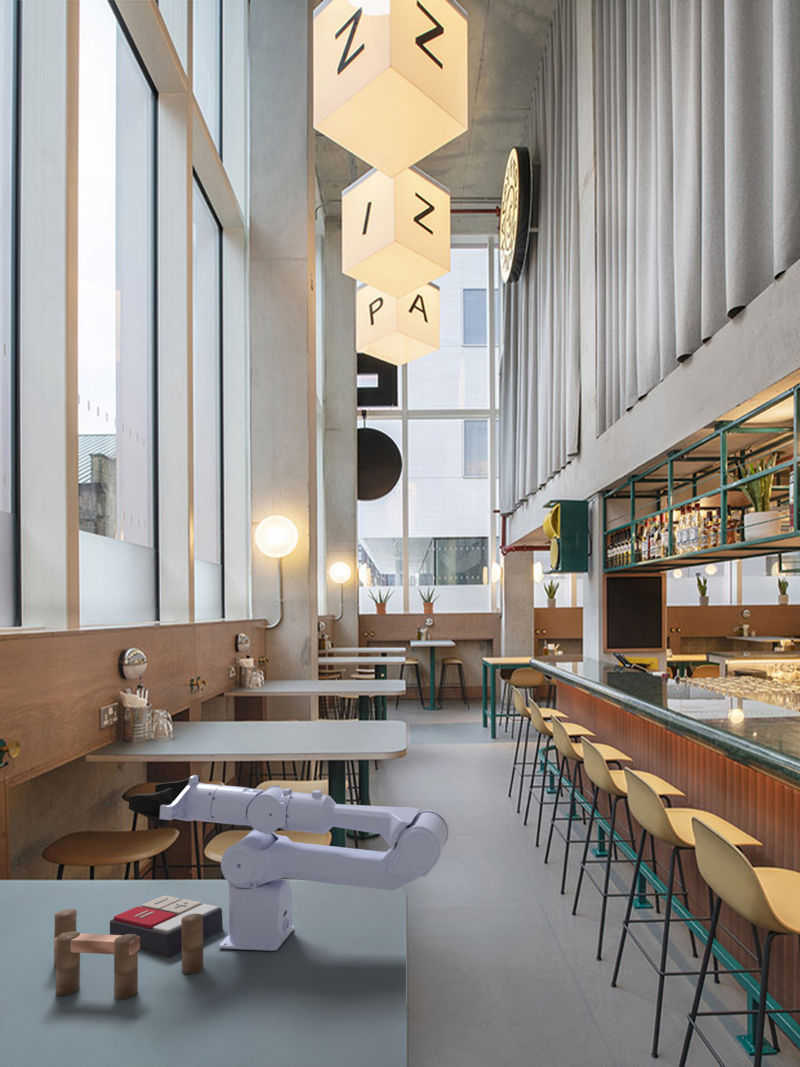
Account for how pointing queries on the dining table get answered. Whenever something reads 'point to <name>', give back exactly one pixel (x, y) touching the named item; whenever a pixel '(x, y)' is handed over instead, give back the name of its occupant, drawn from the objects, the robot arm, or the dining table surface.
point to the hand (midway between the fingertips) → (143, 796)
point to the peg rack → (115, 953)
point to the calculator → (165, 923)
